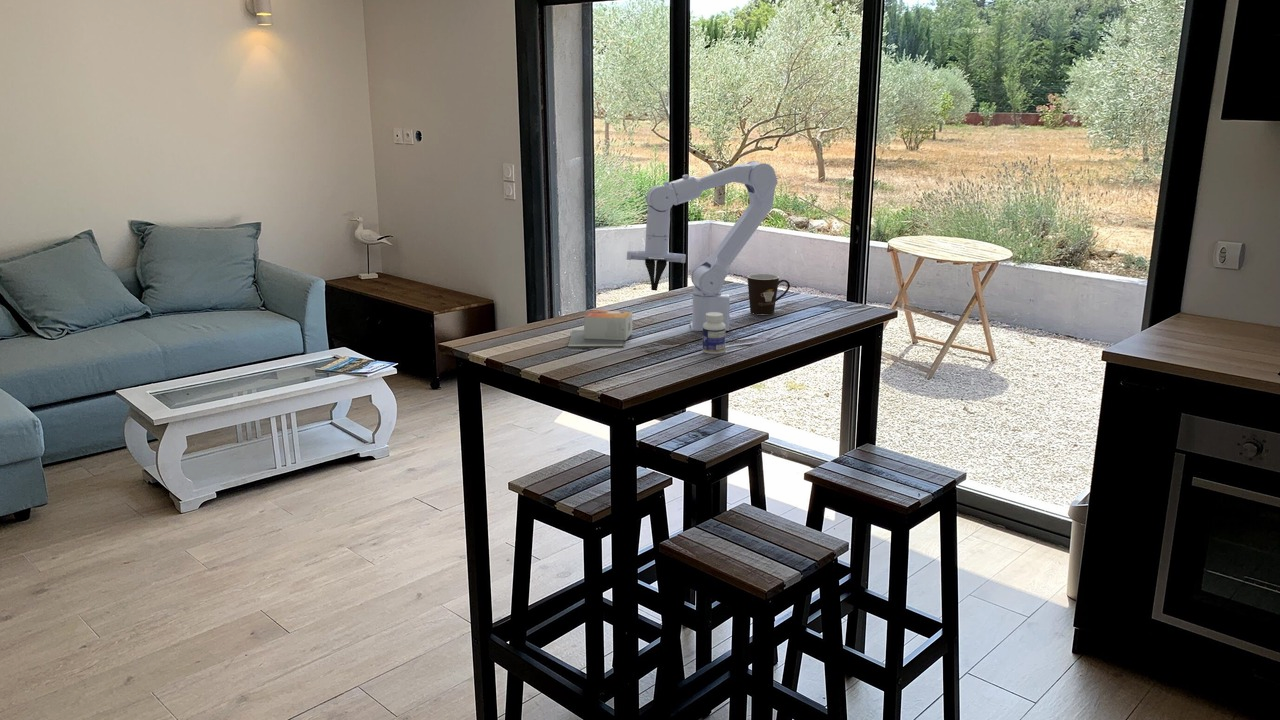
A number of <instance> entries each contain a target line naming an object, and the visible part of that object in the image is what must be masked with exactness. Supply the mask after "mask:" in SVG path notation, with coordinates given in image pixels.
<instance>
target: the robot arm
mask: <svg viewBox="0 0 1280 720" xmlns="http://www.w3.org/2000/svg"><path fill="white" fill-rule="evenodd" d="M681 177H682V178H679V179H676V180H672V181H670V182H669V181H668V180H667V181H666V180H665V181H664V182H663V185H660V184H659V185H653V186H651V187H650V189H648V191H647V193H646V196H645V201H646V204H647V205H648V206H647V215H646V225H645V226H646V227H645V229H646V230H645V243H644V244H645V245H644V250H639V251H637V250H627V251H626V260H627V261H631V260H633V261H635V260H636V261H644V263H645V267H646V269H647V272H648V276H649V280H650V289H651V291H658V287H659V282H660V280H661V278H662V275H663V273H664V271H665V268H667V265H668V264H667V262H671V263H681V264H685V263H686V259H687V258H686V257H687V255H686V254H685V253H674V252H669V241H670V240H669V239H670V226H671V225H670V224H671V208H672V207H673V205H674V206H678V205H680V204H684V203H687V202H689V201H693V200H696V199H699V198H700V197H701V195H702V194H703V192H704V191H707V190H710V189H713V188H717V187H722V186H724V185H727V184H731V183H738V184H743V185H744V187H745V188H746V190H747V193H748V199H749V204H748V206H747V207H746V208H745V210H743V212H742V213H741V215H740V217H739V218H738V219H737V220H736V222H735V223H734V224H733V226H732V227H731V228H730V230H729V231H728V233H727V234H726V235H725V237H724V238H723V239H722V241H721V242H720V243H719V245H718V246H717V248H716V249H715V251H713V253H712V254H711V255H709V256H708V257H707V258H705V260H704V261H703V262H702V263H700V264H699V265H697V266H696V267H695V268H693V270H692V271H691V276H690V279H691V282H692V284H693V286H695V287H694V289H693V290H692V318H691V319H692V320H691V322H689V326H690V330H691V332H692V331H693V332H703V324H704V323H706V322H707V321H706V313H710V312H718V313H722V314H723V321H722V322H723V323H724V324H725V326H726V330H725V332H727V331H730V321H731V317H730V308H731V307H730V294H729V293H722V289H723V287H724V281H725V279H726V278H727V276H728V275H729V270H730V266H731V264H732V263H733V262H734V260H735V259H736V258H737V256H738V255H739V254H740V252H741V251H742V250H743V249H744V247H745V245H746V244H748V242H749V240H750V239H751V238H752V235H753V234H755V232H756V231H757V229H758V228H759V227H760V225H761V224H762V222H763V221H764V220H765V218H766V217H767V215H768V214H769V213H770V211H771V210H772V208H773V205H774V200H775V199H774V197H775V192H776V191H775V190H776V186H777V184H778V179H777V175H776V171H775V169H774V168H773V166H772V165H770V164H768V163H764V162H759V161H756V160H751V161H749V162H746V163H745V162H744V163H739V164H735V165H732V166H728V167H726V168H724V169H721V170H717V171H715V172H712V173H710V174H707V175H704V176H702V177H697V176H695V175H694V174H690V175H689V174H683V175H682V176H681Z"/></svg>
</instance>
